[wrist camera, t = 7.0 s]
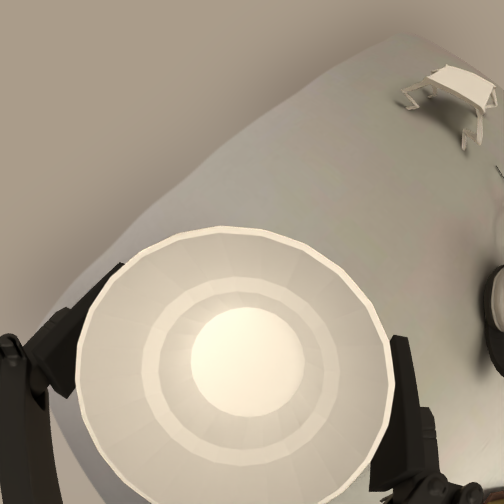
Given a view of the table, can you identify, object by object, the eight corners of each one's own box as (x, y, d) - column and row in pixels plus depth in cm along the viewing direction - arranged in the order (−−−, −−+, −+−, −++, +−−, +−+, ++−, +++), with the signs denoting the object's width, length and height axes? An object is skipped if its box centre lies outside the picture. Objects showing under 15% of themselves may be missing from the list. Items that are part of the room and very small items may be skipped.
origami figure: (451, 170, 20) (479, 138, 15) (391, 100, 22) (407, 62, 17) (502, 135, 21) (524, 111, 16) (454, 80, 23) (469, 52, 18)
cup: (353, 396, 16) (429, 450, 6) (208, 455, 15) (158, 542, 6) (287, 256, 19) (304, 178, 9) (146, 318, 18) (45, 300, 8)
